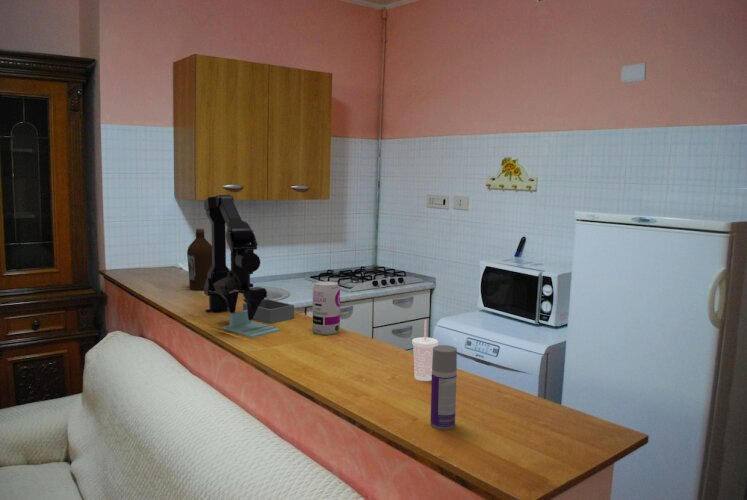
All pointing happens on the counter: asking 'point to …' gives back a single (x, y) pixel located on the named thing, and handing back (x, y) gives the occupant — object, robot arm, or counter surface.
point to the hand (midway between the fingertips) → (241, 317)
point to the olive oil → (199, 261)
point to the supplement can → (326, 307)
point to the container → (443, 387)
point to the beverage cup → (423, 356)
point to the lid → (247, 325)
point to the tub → (272, 311)
